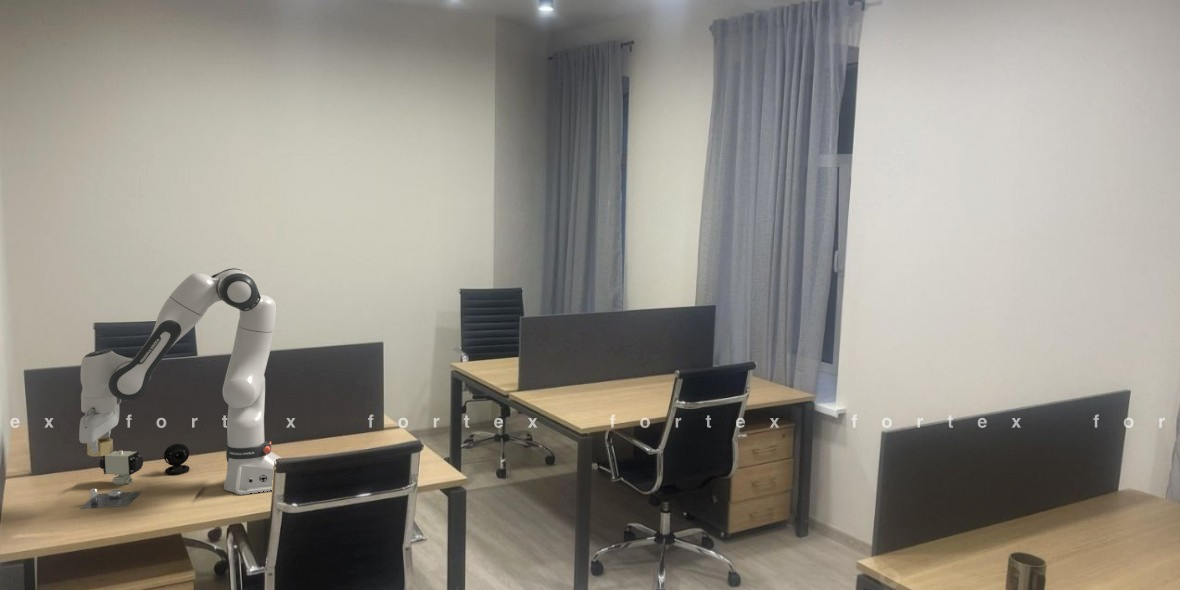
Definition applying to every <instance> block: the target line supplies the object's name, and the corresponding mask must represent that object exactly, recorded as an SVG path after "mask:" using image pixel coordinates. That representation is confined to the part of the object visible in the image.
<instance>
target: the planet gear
mask: <svg viewBox="0 0 1180 590" xmlns="http://www.w3.org/2000/svg"><path fill="white" fill-rule="evenodd" d="M113 440H114V439H113V438H111V437H100V438H99V439H98V442H97V443H98V446H99V452H98V453H93V454H92V453H91V448H90V446H89V444H88V443H86V446H87V448H86V449H87V450H86V451H87V452H86V453H87V456H89V457H92V458H93V457H103V456H104V455H109V454H111V453H112V452H113V451H114V441H113Z"/></svg>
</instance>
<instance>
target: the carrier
mask: <svg viewBox="0 0 1180 590" xmlns="http://www.w3.org/2000/svg"><path fill="white" fill-rule="evenodd" d="M89 493H90V494H89V497H90V498H89V500H87V501H86V502H85V504H83V505H82V506H81V507H79V510H87V509H88V510H89V509H105V508H120V507H121V508H123V507H129V505H130V504H132V503H133V502H134V501H135V500H136V498H137V497H138V496H139V495H140V494H141V493H142V491H129V492H127V491H126V492H125V491H123V490H122V489H112V490H110V491H108V493H98V488H95V487H94V488H91V489H89Z"/></svg>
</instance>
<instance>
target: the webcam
mask: <svg viewBox="0 0 1180 590" xmlns="http://www.w3.org/2000/svg"><path fill="white" fill-rule="evenodd" d="M189 456H190V450H189V447H188V445H186V444H184V443H173V444H170V445H169V446H167V448H165V451H164V452H163V459H164V461H165V462H166V463H167V465H169V466H168V467H167V468H165V470H164V473H165V474H166V475H168V476H179V475H184V474H186V473H188V472H189V471H190V466H189V465H187V464H184V463H185V462H187V461H188V459H189Z"/></svg>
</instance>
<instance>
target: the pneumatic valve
mask: <svg viewBox="0 0 1180 590" xmlns="http://www.w3.org/2000/svg"><path fill="white" fill-rule="evenodd" d="M143 465H144V459H143V457H142V456H141V455H140V452H139V451H130V450H127V451H126V450H124V451H123V449H121V450H120V449H119V450H118V451H117V450H113V452H112V453H111V454H109V455H104V456H101V458H100V460H99V468H100V469H102V471H103V474H104V475H114V477H113V478H112V482H111V483H112V484H114V485H115V486H117V485H118V486H120V485H122V486H125V485H130V484H132V483H133V478H132V476H131V475H133V474H135V473H137V472H139V471H141V469H142V467H143Z"/></svg>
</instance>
